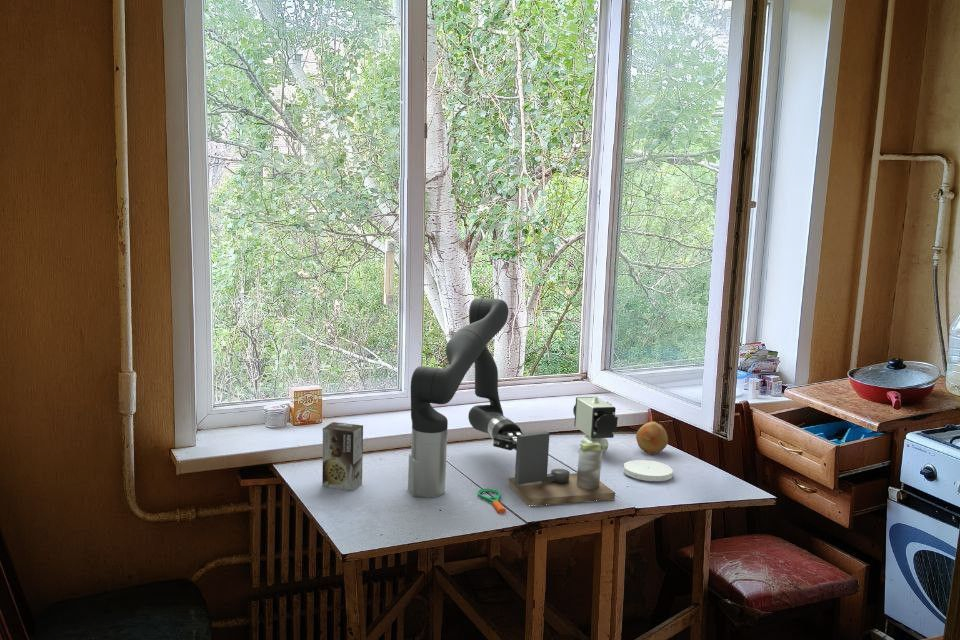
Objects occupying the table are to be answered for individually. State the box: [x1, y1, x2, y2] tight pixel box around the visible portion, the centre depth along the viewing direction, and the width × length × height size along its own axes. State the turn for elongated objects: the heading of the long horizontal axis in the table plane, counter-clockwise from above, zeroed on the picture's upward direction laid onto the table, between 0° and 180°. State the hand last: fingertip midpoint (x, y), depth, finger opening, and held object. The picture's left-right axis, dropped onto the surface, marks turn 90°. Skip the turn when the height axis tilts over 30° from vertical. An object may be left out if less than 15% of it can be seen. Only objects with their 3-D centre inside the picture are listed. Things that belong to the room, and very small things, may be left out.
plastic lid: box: [623, 459, 674, 482], centre depth 226 cm, size 14×14×2 cm
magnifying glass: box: [477, 488, 507, 514], centre depth 199 cm, size 15×6×2 cm, turn 15°
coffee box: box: [321, 421, 364, 491], centre depth 205 cm, size 9×6×16 cm
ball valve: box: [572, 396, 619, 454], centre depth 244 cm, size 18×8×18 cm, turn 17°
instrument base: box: [507, 442, 616, 506], centre depth 208 cm, size 24×16×14 cm, turn 108°
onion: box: [635, 421, 669, 455], centre depth 247 cm, size 10×10×10 cm
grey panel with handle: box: [514, 431, 571, 485], centre depth 208 cm, size 16×5×14 cm, turn 119°
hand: (526, 450), depth 206 cm, fingers closed
